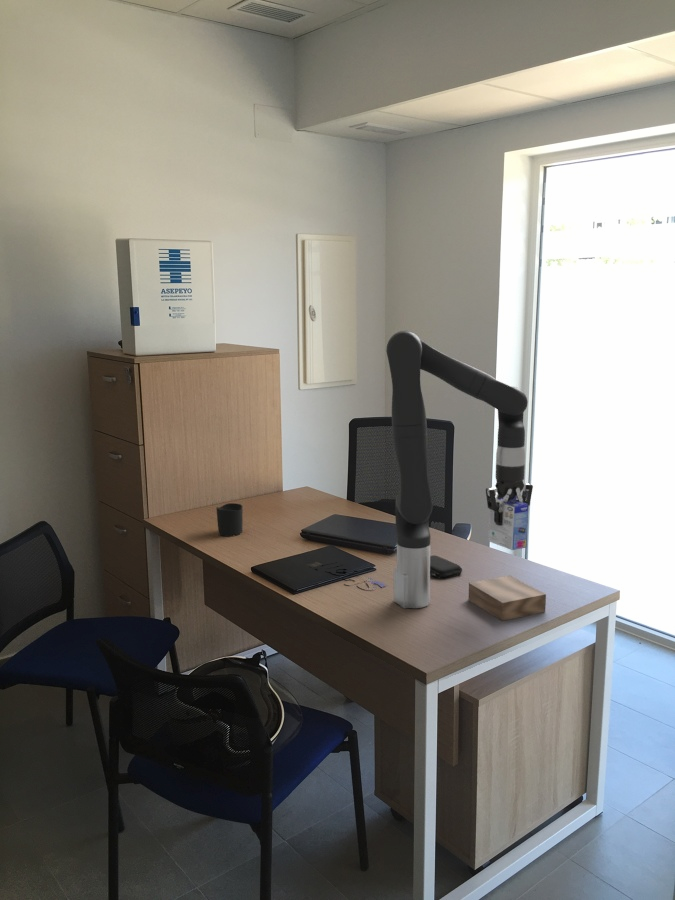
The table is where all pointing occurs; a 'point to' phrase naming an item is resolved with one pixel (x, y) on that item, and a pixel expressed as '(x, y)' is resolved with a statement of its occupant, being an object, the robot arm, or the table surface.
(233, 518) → the pen holder
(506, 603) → the wooden block
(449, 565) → the carrying case or bag
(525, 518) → the ink cartridge box
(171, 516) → the table surface
